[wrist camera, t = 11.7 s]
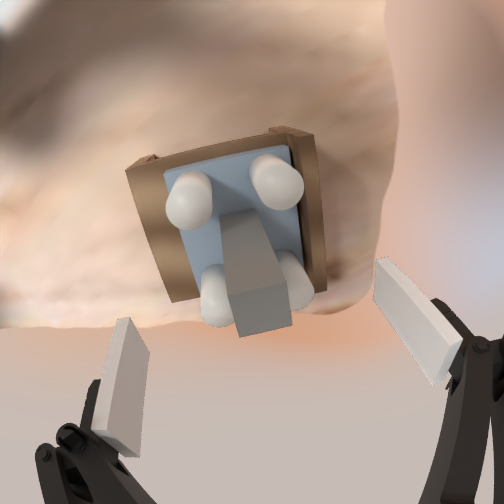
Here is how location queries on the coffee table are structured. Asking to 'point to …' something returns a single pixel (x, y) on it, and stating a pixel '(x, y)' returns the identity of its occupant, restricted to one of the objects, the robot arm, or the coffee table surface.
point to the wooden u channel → (151, 170)
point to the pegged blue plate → (242, 237)
